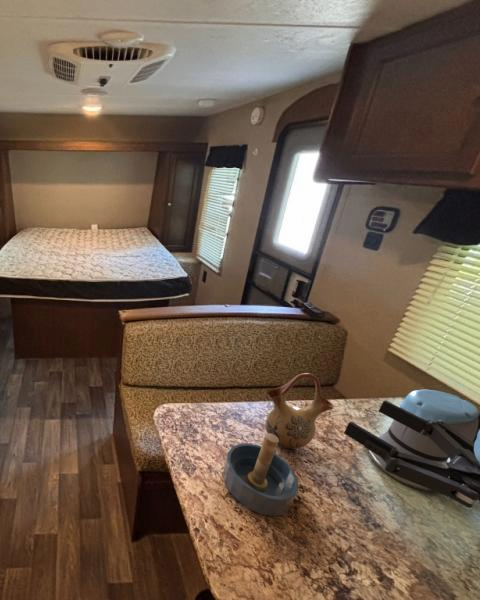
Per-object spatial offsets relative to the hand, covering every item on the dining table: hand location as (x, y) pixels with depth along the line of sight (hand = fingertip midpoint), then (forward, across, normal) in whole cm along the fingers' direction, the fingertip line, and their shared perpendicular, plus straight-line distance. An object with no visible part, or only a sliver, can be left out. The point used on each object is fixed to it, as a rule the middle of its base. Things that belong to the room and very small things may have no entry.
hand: (365, 415), depth 63 cm
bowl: (+11, -7, -30) cm, 33 cm away
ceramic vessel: (+16, +13, -30) cm, 37 cm away
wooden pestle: (+11, -7, -29) cm, 32 cm away
